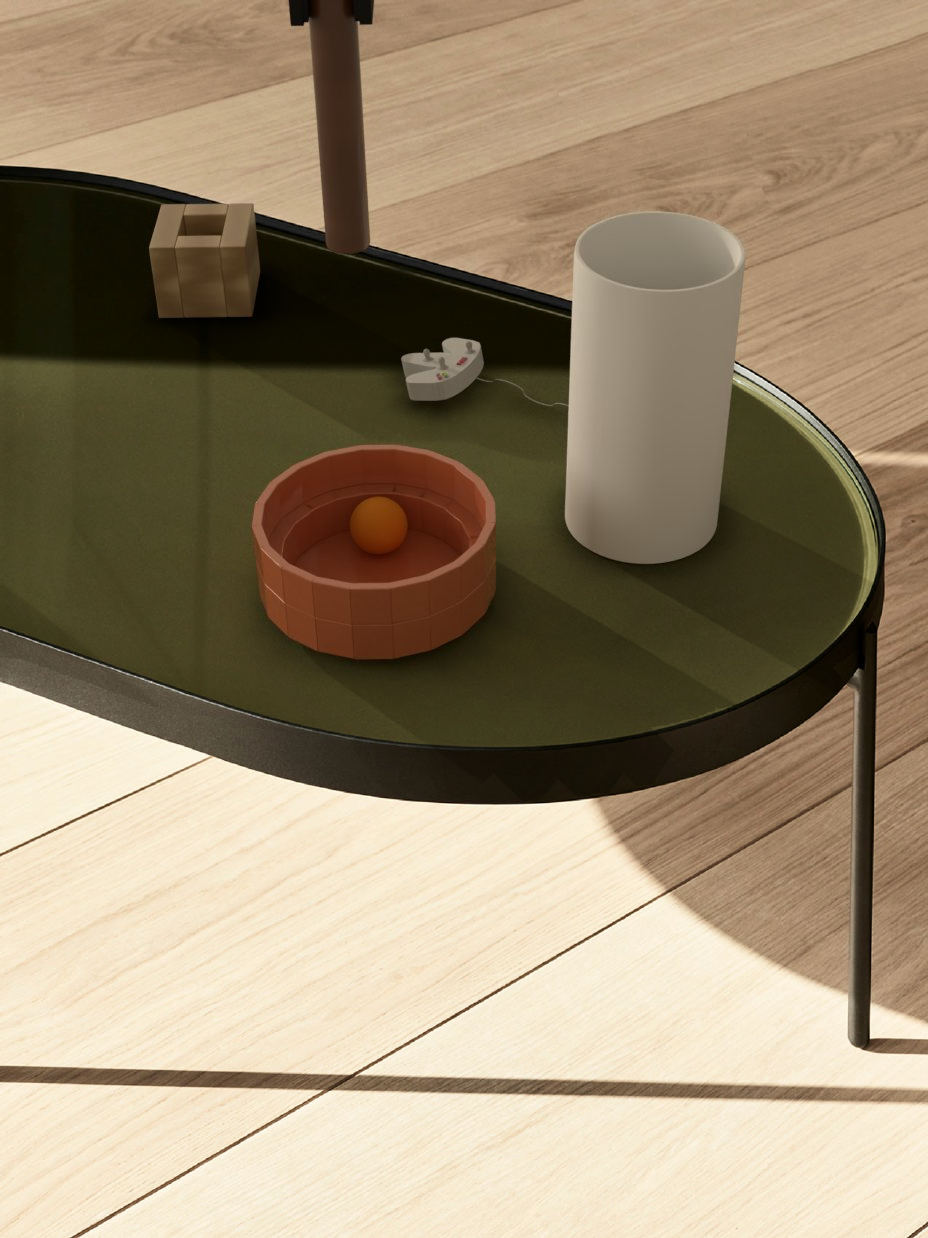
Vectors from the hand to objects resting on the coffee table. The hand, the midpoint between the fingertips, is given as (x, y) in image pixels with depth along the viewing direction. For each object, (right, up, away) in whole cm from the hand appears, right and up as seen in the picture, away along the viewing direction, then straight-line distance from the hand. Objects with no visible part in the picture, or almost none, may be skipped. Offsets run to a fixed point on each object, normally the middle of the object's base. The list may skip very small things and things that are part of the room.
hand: (333, 9), depth 69 cm
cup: (+15, -20, +22) cm, 33 cm away
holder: (-11, -4, +41) cm, 43 cm away
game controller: (+7, -12, +31) cm, 34 cm away
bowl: (+1, -24, +17) cm, 29 cm away
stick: (0, -8, +7) cm, 11 cm away
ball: (+1, -20, +18) cm, 27 cm away
